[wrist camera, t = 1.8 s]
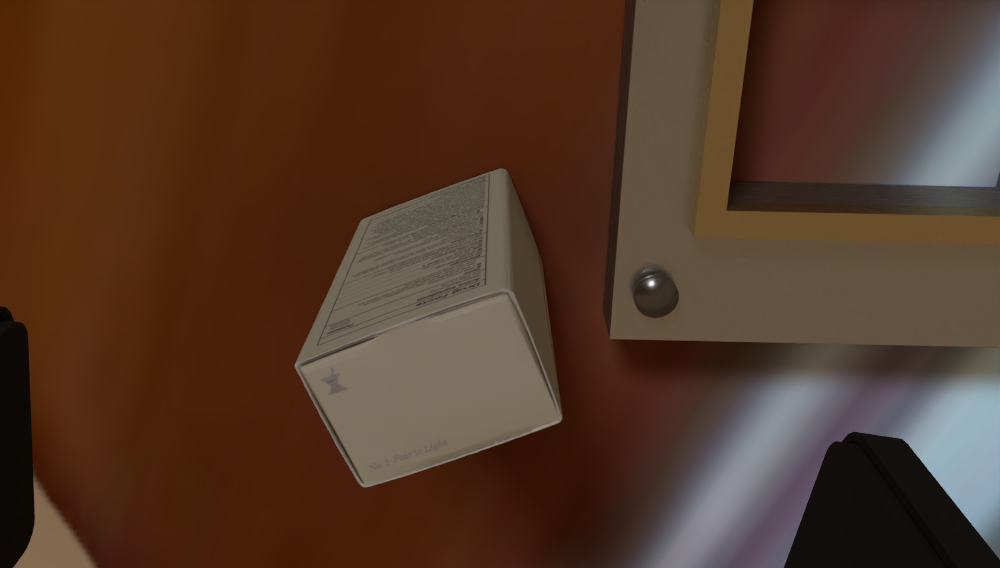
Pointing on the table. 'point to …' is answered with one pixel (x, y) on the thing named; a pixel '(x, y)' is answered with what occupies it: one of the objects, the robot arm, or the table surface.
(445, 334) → the skincare box
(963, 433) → the table surface
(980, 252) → the picture frame
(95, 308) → the table surface
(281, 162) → the table surface
